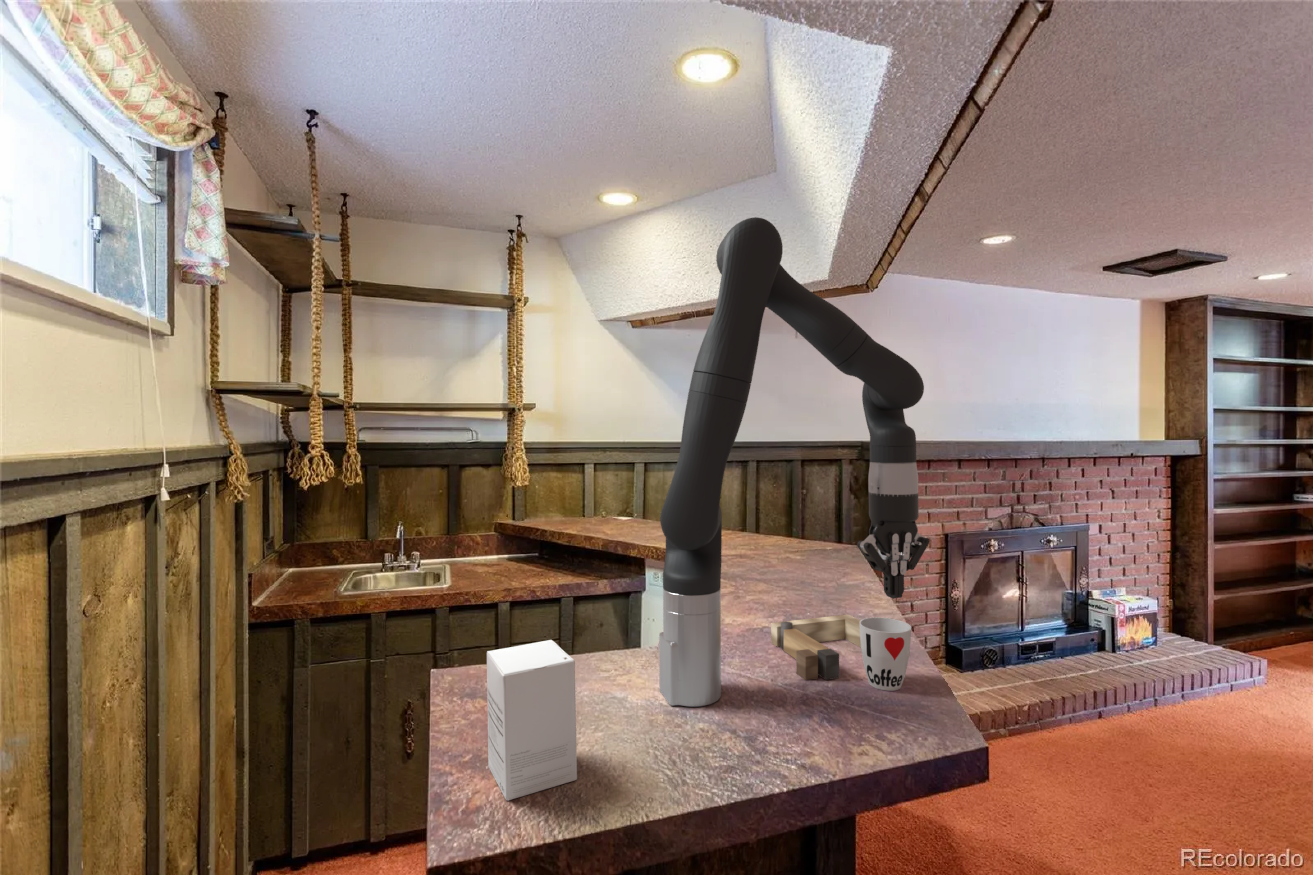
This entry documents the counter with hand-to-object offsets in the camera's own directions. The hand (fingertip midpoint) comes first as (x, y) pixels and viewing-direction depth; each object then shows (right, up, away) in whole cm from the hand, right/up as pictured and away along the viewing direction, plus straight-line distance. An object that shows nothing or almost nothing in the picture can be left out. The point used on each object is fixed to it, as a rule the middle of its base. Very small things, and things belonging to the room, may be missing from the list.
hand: (894, 596), depth 101 cm
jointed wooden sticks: (-6, -15, +16) cm, 23 cm away
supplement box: (-54, -16, -23) cm, 61 cm away
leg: (-11, -15, +13) cm, 23 cm away
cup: (0, -16, +3) cm, 16 cm away
